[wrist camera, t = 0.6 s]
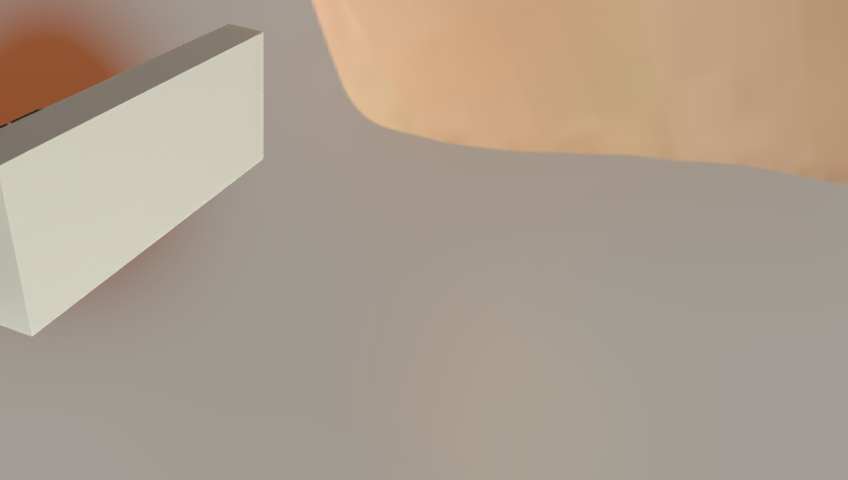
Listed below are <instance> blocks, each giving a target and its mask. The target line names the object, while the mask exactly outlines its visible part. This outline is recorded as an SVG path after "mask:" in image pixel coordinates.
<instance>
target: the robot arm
mask: <svg viewBox="0 0 848 480" xmlns="http://www.w3.org/2000/svg"><path fill="white" fill-rule="evenodd" d="M262 159H263V32H261V31H257V30H252V29H248V28H244V27H239V26H235V25H231V24H228V25H226V26H223V27H221V28H219V29H217V30H215V31H213V32H210V33H208V34H206V35H204V36H201V37H199V38H197V39H195V40H193V41H191V42H188V43H186V44H184V45H182V46H180V47H177V48H175V49H173V50H171V51H169V52H167V53H164V54H162V55H160V56H158V57H156V58H153V59H151V60H150V61H147V62H145V63H142V64H140V65H138V66H136V67H134V68H131V69H129V70H127V71H125V72H123V73H121V74H118V75H116V76H114V77H112V78H110V79H107V80H105V81H103V82H101V83H99V84H97V85H95V86H92V87H90V88H88V89H86V90H84V91H81V92H79V93H77V94H75V95H72V96H70V97H68V98H66V99H64V100H62V101H59V102H57V103H55V104H53V105H51V106H48V107H46V108H43V109H39V110H35V111H33V112H31V113H29V114H27V115H24V116H22V117H20V118H18V119H16V120H13V121H12V122H11V124H9V125H8V124H5V125H2V126H0V325H1V326H4V327H7V328H10V329H13V330H15V331H18V332H21V333H23V334H26V335H29V336H33V335H34V334H36V333H37V332H39V331H40V330H41V329H42V328H43V327H45V326H46V325H47V324H49V323H50V322H51V321H53V320H54V319H55V318H57V317H58V316H59V315H61V314H62V313H63V312H65V311H66V310H67V309H68V308H70V307H71V306H72V305H74V304H75V303H76V302H77V301H79V300H80V299H81V298H83V297H84V296H85V295H87V294H88V293H89V292H91V291H92V290H93V289H94V288H96V287H97V286H98V285H100V284H101V283H102V282H103V281H105V280H106V279H107V278H109V277H110V276H111V275H113V274H114V273H115V272H117V271H118V270H119V269H120V268H122V267H123V266H124V265H125V264H127V263H128V262H130V261H131V260H132V259H133V258H135V257H136V256H137V255H139V254H140V253H141V252H143V251H144V250H145V249H146V248H148V247H149V246H150V245H152V244H153V243H154V242H156V241H157V240H158V239H159V238H161V237H162V236H163V235H165V234H166V233H167V232H168V231H170V230H171V229H173V228H174V227H175V226H176V225H178V224H179V223H180V222H182V221H183V220H184V219H186V218H187V217H188V216H189V215H191V214H192V213H193V212H194V211H196V210H197V209H198V208H200V207H201V206H202V205H203V204H205V203H206V202H208V201H209V200H210V199H212V198H213V197H214V196H215V195H217V194H218V193H219V192H220V191H222V190H223V189H224V188H226V187H227V186H228V185H230V184H231V183H232V182H234V181H235V180H236V179H238V178H239V177H240V176H241V175H243V174H244V173H245V172H246V171H248V170H249V169H250V168H252V167H253V166H254V165H256V164H257V163H258V162H260V161H261V160H262Z"/></svg>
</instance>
